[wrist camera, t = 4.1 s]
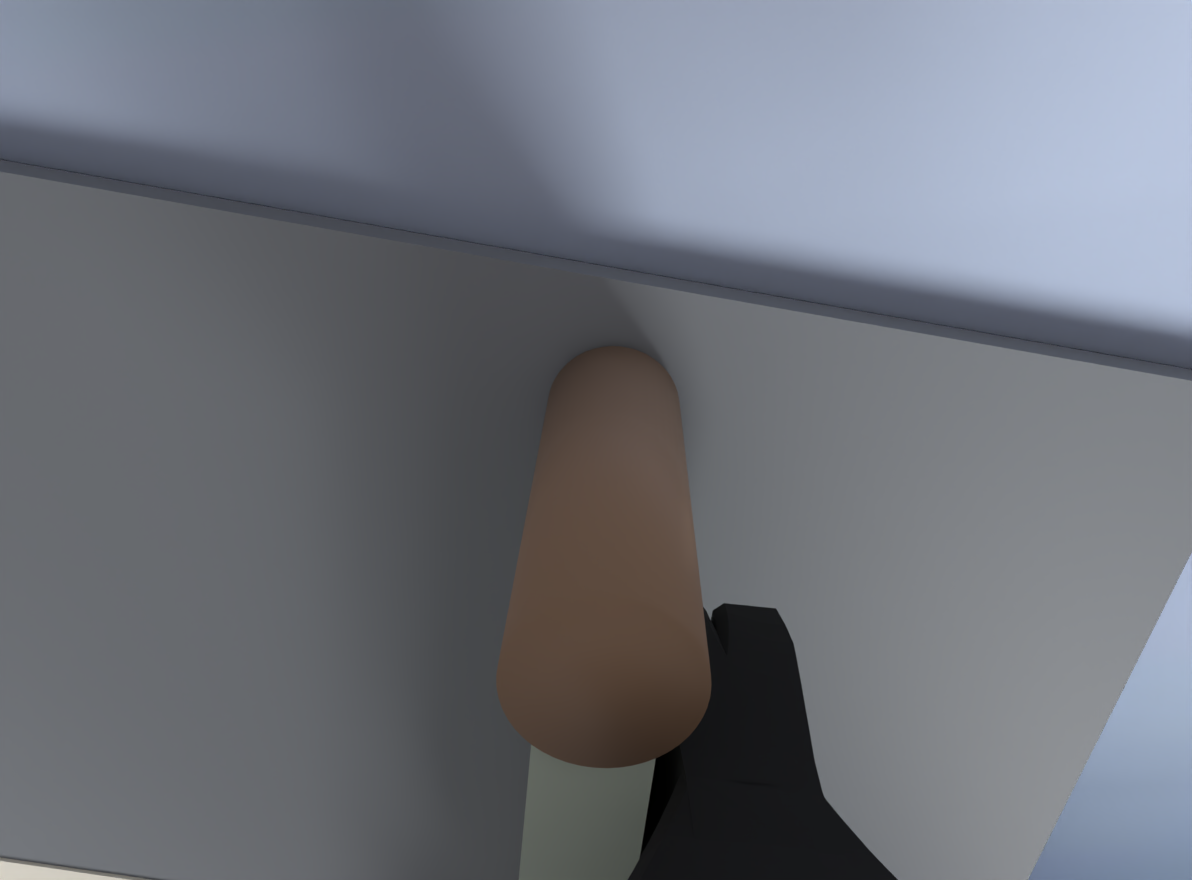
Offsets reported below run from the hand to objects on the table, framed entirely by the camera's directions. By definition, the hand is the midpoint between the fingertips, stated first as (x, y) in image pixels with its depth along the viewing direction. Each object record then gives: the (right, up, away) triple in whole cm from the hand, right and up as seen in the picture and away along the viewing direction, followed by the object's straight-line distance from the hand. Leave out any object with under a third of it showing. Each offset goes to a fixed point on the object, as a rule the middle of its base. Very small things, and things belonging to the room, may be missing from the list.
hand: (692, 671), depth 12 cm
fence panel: (-1, -1, +3) cm, 3 cm away
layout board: (-4, -5, +5) cm, 8 cm away
